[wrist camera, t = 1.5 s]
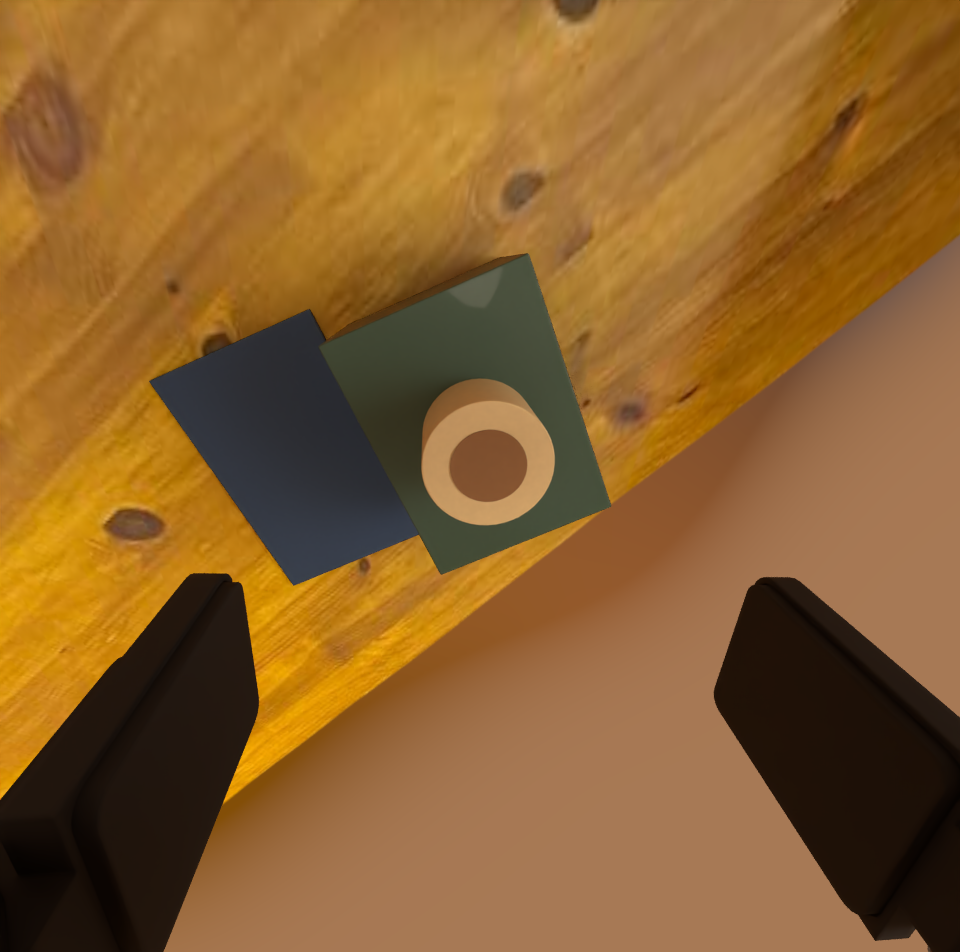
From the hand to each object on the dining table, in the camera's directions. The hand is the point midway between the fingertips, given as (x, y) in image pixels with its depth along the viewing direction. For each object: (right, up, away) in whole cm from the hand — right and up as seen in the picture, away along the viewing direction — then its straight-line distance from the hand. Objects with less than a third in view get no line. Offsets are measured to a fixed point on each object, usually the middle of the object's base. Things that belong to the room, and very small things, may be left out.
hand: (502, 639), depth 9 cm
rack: (-2, +10, +29) cm, 31 cm away
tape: (0, +5, +19) cm, 20 cm away
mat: (-15, +4, +30) cm, 34 cm away
